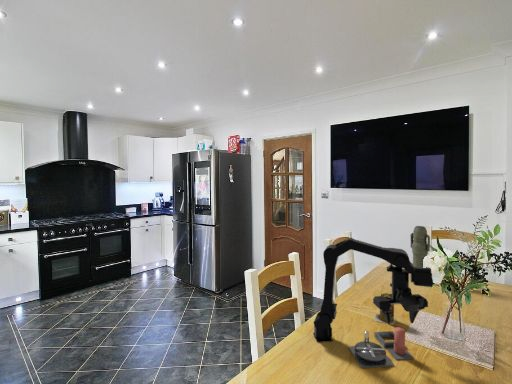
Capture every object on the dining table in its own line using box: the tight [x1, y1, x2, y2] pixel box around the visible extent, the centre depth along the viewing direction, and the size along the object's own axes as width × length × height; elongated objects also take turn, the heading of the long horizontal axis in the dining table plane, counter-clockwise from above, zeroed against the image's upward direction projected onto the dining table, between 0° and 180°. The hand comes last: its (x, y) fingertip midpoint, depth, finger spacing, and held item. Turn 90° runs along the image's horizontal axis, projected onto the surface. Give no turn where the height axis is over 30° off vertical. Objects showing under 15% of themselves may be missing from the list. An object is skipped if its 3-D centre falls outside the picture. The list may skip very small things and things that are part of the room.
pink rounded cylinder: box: [393, 326, 407, 356], centre depth 108 cm, size 4×4×9 cm
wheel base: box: [347, 345, 395, 369], centre depth 107 cm, size 12×12×1 cm
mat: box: [385, 347, 415, 361], centre depth 108 cm, size 7×7×1 cm
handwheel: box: [354, 330, 387, 362], centre depth 106 cm, size 11×11×5 cm
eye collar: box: [373, 330, 394, 349], centre depth 116 cm, size 8×8×2 cm
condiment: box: [373, 292, 396, 326], centre depth 134 cm, size 7×8×12 cm
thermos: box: [410, 225, 431, 268], centre depth 182 cm, size 9×12×35 cm
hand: (400, 323), depth 107 cm, fingers open, 9 cm apart
